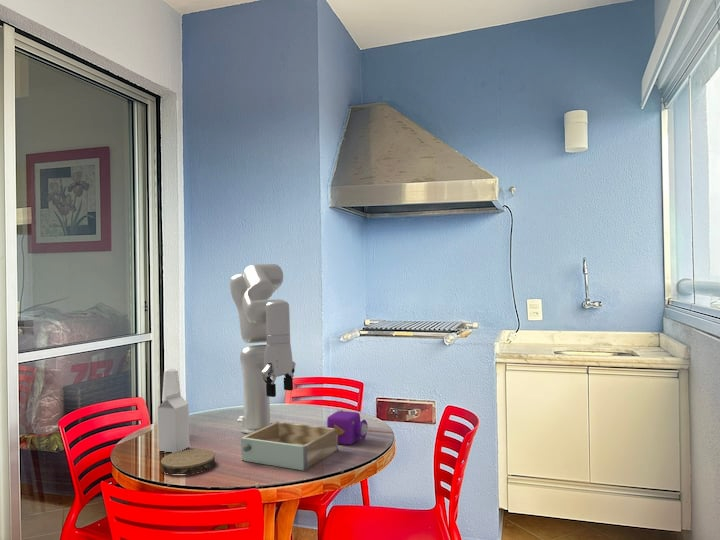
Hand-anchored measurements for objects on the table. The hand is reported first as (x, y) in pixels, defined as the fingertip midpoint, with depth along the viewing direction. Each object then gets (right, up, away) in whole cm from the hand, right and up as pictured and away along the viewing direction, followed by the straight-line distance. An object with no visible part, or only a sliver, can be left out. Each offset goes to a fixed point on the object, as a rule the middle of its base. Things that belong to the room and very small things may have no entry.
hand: (280, 393), depth 177 cm
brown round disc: (-27, -22, -6) cm, 36 cm away
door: (-1, -20, -8) cm, 22 cm away
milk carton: (-37, -22, +10) cm, 44 cm away
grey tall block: (-44, -22, +28) cm, 56 cm away
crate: (+3, -20, +2) cm, 21 cm away
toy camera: (+22, -20, +14) cm, 33 cm away
